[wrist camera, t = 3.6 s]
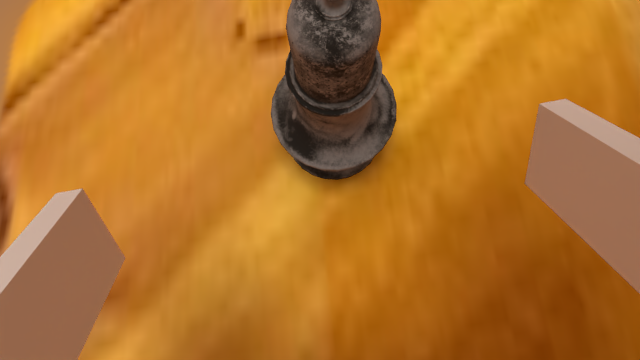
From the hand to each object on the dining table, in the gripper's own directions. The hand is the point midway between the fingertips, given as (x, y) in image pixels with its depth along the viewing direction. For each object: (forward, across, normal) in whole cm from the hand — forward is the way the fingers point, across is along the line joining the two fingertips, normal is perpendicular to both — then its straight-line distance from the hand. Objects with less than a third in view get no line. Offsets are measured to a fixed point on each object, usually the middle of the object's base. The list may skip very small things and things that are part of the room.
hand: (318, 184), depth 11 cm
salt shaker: (+10, +1, -3) cm, 10 cm away
